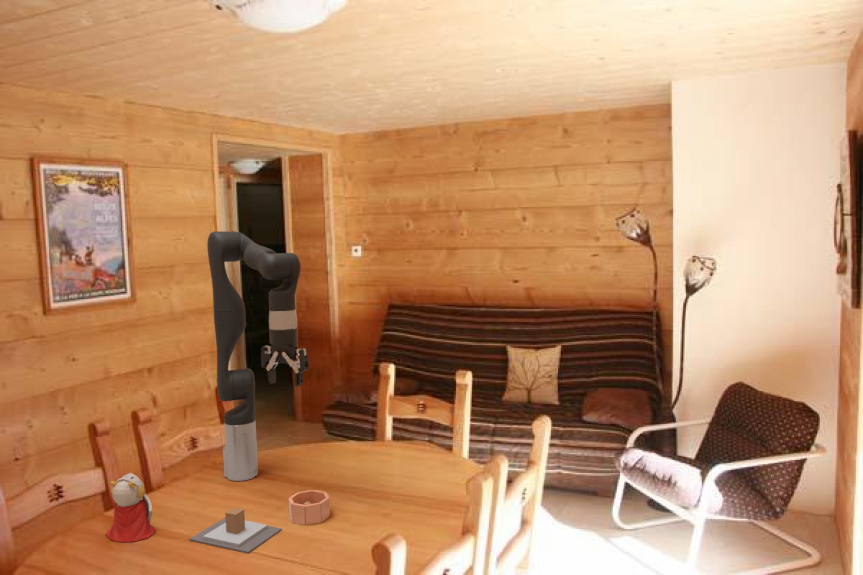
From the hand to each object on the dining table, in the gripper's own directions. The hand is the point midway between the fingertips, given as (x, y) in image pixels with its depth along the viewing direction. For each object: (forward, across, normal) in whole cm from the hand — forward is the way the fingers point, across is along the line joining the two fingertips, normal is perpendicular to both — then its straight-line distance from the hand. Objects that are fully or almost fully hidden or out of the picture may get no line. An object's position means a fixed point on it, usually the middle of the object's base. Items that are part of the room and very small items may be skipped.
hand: (285, 384), depth 186 cm
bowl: (+33, +11, -7) cm, 35 cm away
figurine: (+33, -26, -31) cm, 52 cm away
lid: (+32, 0, -23) cm, 40 cm away
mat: (+33, 0, -23) cm, 40 cm away
